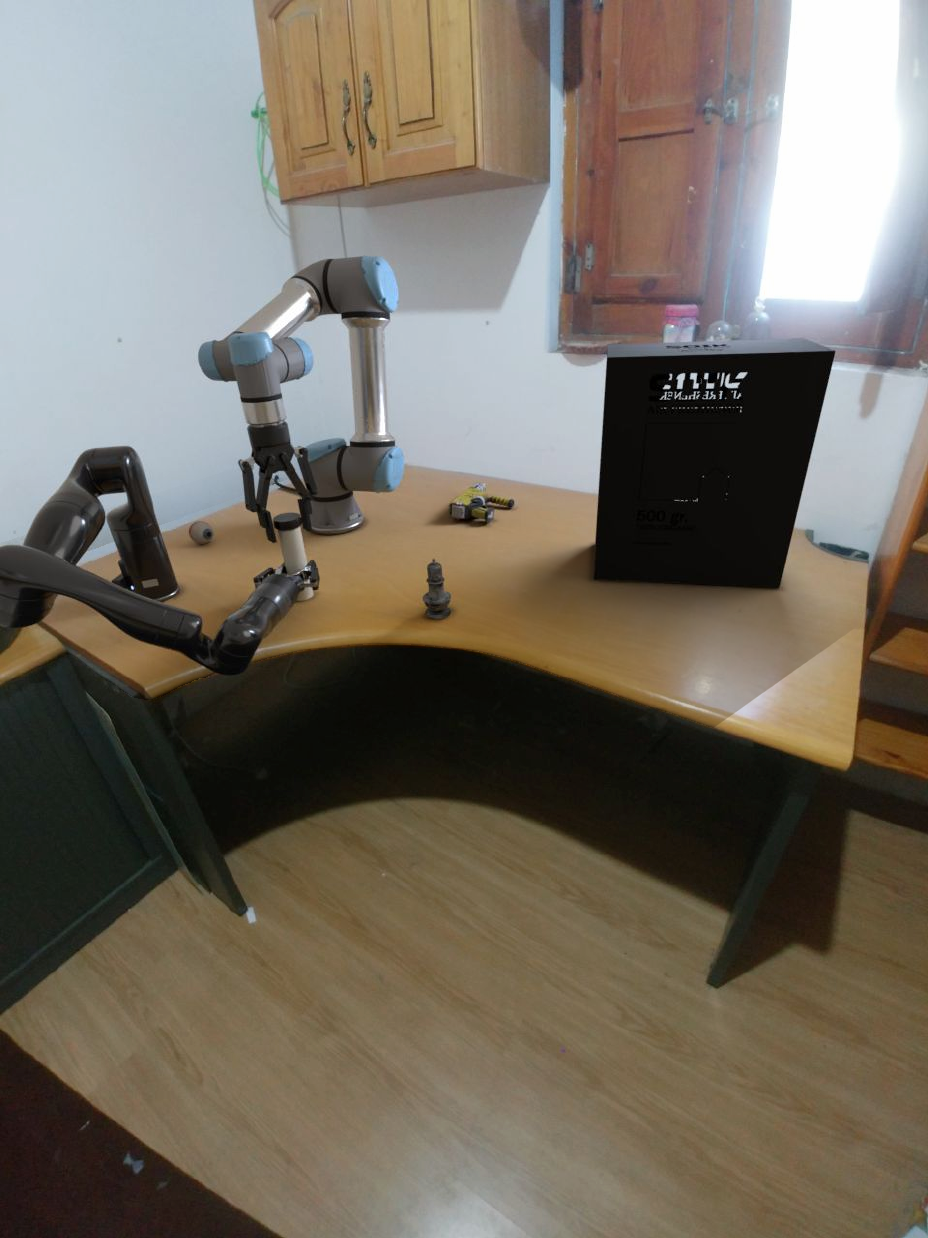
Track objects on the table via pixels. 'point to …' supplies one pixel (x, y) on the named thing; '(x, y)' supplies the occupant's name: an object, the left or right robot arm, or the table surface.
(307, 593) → the jar
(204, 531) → the eyeball
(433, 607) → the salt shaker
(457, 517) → the toy gun
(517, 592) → the table surface
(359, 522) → the right robot arm
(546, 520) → the table surface
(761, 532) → the cardboard box
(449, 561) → the table surface
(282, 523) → the lid
